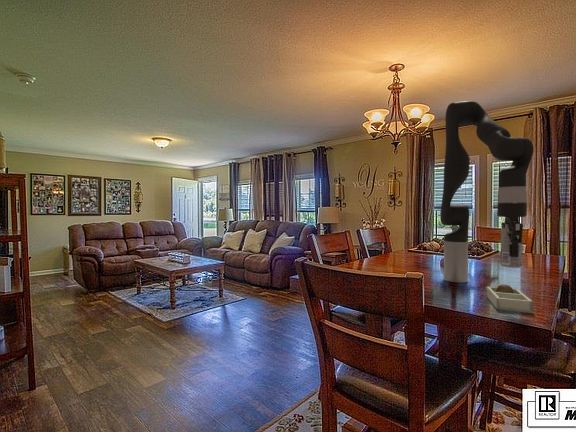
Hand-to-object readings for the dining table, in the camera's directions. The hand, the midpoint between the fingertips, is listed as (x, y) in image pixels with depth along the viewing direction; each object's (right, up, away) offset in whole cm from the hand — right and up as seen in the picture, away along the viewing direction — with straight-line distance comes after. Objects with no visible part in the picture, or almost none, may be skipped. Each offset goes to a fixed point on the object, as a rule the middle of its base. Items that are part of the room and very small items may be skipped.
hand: (511, 255), depth 98 cm
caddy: (+1, -16, +4) cm, 17 cm away
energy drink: (0, -4, 0) cm, 4 cm away
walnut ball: (+3, -16, +7) cm, 17 cm away
